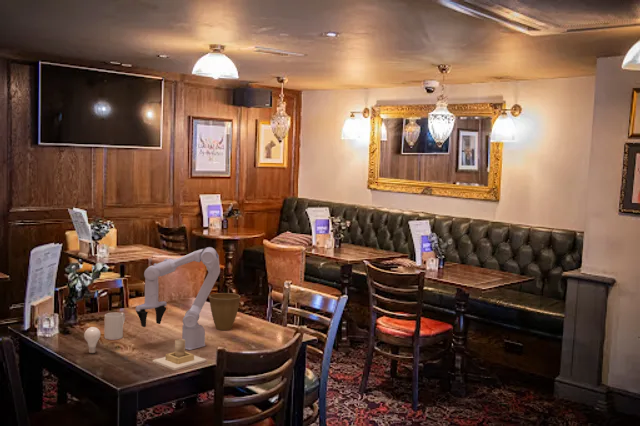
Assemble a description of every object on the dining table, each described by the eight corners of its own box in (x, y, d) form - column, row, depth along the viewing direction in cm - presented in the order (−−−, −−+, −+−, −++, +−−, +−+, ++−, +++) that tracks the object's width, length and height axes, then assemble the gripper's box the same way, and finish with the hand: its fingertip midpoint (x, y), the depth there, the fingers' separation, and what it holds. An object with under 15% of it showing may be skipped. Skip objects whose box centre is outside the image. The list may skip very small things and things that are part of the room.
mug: (116, 340, 287) (116, 317, 286) (100, 338, 289) (101, 315, 288) (131, 333, 299) (131, 311, 298) (116, 332, 301) (116, 309, 300)
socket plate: (184, 353, 273) (184, 346, 272) (206, 361, 264) (206, 354, 263) (152, 362, 260) (152, 354, 260) (174, 370, 251) (174, 362, 251)
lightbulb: (81, 352, 268) (81, 326, 267) (96, 350, 273) (96, 324, 272) (88, 356, 264) (88, 330, 263) (103, 353, 268) (103, 327, 267)
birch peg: (179, 357, 265) (179, 338, 264) (186, 359, 263) (187, 340, 262) (172, 360, 261) (172, 340, 260) (180, 362, 259) (180, 342, 258)
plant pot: (242, 331, 310) (243, 298, 309) (212, 333, 305) (212, 299, 304) (235, 323, 324) (236, 291, 323) (205, 325, 319) (206, 293, 317)
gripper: (159, 290, 287) (159, 320, 288) (131, 294, 276) (131, 326, 277) (169, 292, 283) (169, 323, 284) (141, 297, 271) (140, 329, 273)
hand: (151, 325), depth 280 cm, fingers open, 7 cm apart
